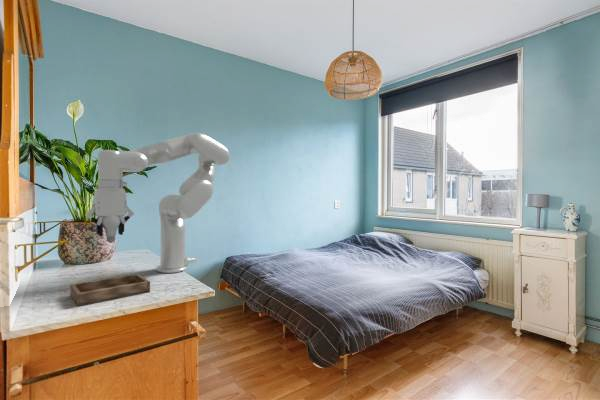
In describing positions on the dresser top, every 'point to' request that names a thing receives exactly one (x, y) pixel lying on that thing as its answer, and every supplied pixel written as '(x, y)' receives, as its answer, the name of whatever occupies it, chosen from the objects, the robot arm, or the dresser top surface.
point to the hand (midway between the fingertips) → (110, 234)
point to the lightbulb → (111, 226)
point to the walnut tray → (108, 289)
